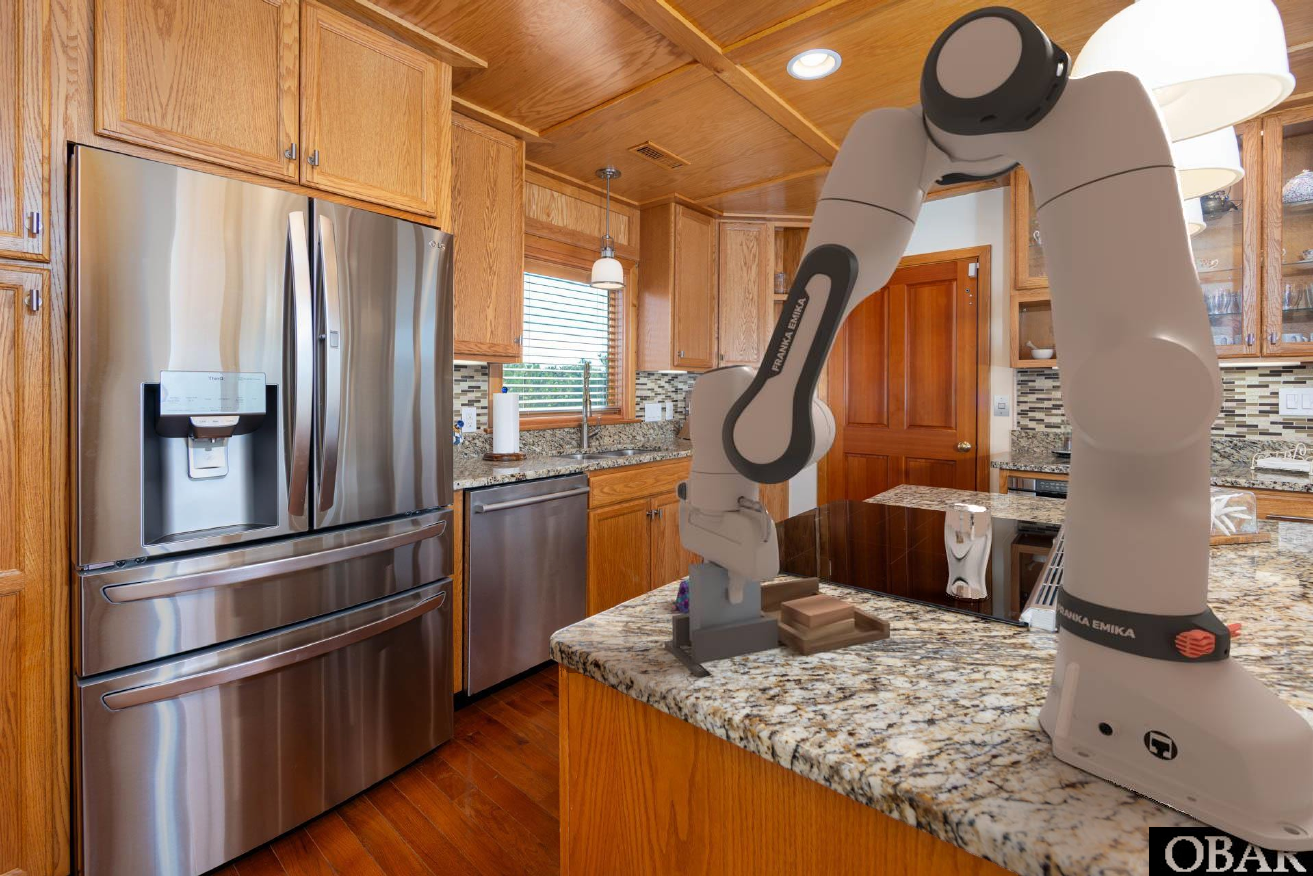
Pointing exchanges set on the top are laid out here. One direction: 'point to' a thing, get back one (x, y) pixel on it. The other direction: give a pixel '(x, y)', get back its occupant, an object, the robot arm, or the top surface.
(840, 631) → the offcut low
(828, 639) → the tray
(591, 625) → the top surface
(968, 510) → the beer glass
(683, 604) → the purple rounded dome
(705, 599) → the gray rectangular block
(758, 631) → the holder
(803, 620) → the offcut top
